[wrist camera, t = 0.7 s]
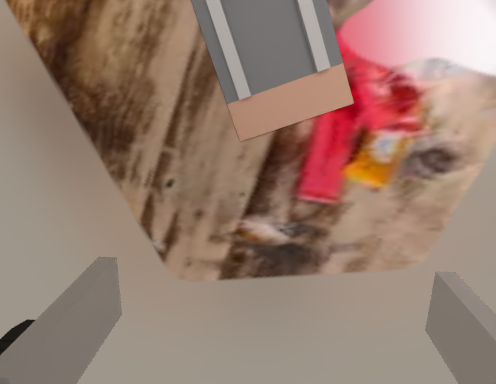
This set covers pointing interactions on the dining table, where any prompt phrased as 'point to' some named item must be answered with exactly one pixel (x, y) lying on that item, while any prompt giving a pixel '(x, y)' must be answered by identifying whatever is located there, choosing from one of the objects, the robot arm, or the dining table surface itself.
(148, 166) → the dining table surface
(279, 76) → the chute
